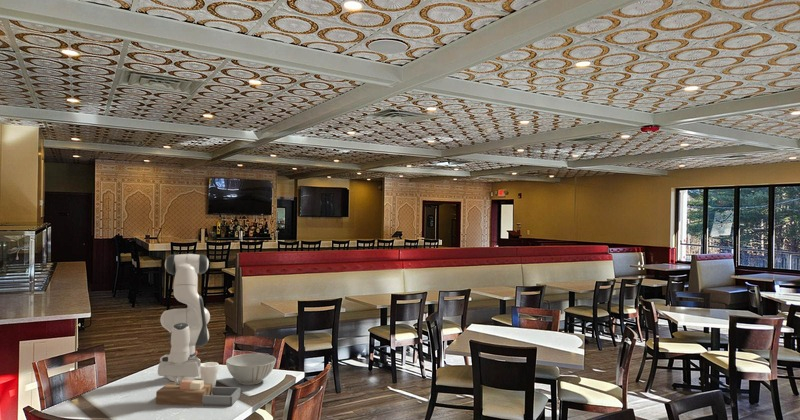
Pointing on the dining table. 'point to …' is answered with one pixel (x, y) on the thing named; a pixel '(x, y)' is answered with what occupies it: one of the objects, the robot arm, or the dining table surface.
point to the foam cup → (209, 372)
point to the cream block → (197, 384)
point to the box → (222, 396)
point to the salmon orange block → (185, 384)
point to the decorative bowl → (250, 367)
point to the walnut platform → (182, 395)
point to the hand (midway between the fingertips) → (178, 385)
